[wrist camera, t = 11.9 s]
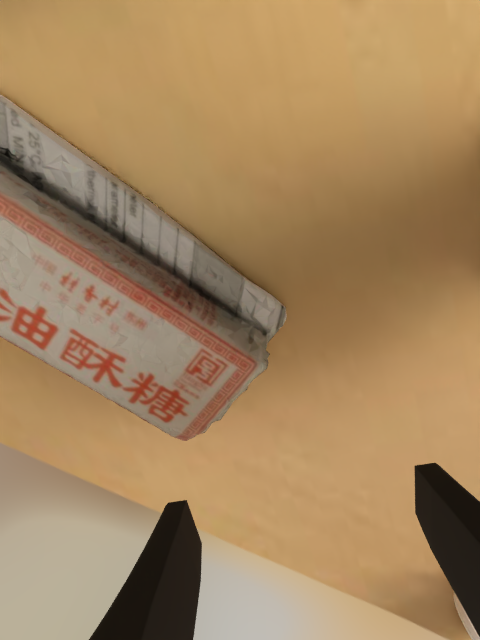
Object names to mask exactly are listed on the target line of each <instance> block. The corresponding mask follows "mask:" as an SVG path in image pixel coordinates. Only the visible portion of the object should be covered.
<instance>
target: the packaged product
mask: <svg viewBox="0 0 480 640" xmlns="http://www.w3.org/2000/svg"><path fill="white" fill-rule="evenodd" d="M285 320H286V307H285V306H284V305H283V304H281V303H280V302H279V301H278V300H277V299H276V298H274V297H273V296H272V295H271V294H269V293H268V292H266V291H265V290H263V289H262V288H260V287H258V286H257V285H255V284H254V283H252V282H251V281H249V280H248V279H246V278H245V277H244V276H242V275H241V274H240V273H239V272H238V271H236V270H235V269H234V268H233V267H231V266H230V265H229V264H228V263H226V262H225V261H224V260H223V259H222V258H220V257H219V256H218V255H217V254H215V253H214V252H213V251H212V250H211V249H209V248H208V247H207V246H206V245H204V244H203V243H202V242H201V241H199V240H198V239H197V238H196V237H195V236H193V235H192V234H191V233H189V232H188V231H187V230H186V229H184V228H183V227H182V226H181V225H179V224H178V223H177V222H175V221H174V220H173V219H172V218H170V217H169V216H168V215H167V214H165V213H164V212H163V211H161V210H160V209H159V208H158V207H156V206H155V205H154V204H153V203H151V202H150V201H148V200H147V199H146V198H144V197H143V196H142V195H140V194H139V193H137V192H136V191H135V190H133V189H132V188H131V187H129V186H128V185H126V184H125V183H124V182H122V181H121V180H119V179H118V178H117V177H115V176H114V175H113V174H111V173H110V172H108V171H107V170H106V169H104V168H103V167H101V166H100V165H99V164H97V163H96V162H94V161H93V160H92V159H90V158H89V157H88V156H86V155H85V154H83V153H82V152H81V151H79V150H78V149H76V148H75V147H74V146H72V145H71V144H69V143H68V142H67V141H65V140H64V139H63V138H61V137H60V136H58V135H57V134H56V133H54V132H53V131H51V130H50V129H49V128H47V127H46V126H44V125H43V124H42V123H40V122H39V121H37V120H36V119H35V118H33V117H32V116H31V115H29V114H28V113H26V112H25V111H24V110H22V109H21V108H19V107H18V106H17V105H15V104H14V103H12V102H11V101H10V100H8V99H7V98H5V97H4V96H2V95H0V337H2V338H3V339H5V340H7V341H9V342H10V343H12V344H14V345H16V346H17V347H19V348H21V349H22V350H24V351H26V352H28V353H29V354H31V355H33V356H35V357H37V358H38V359H40V360H42V361H44V362H45V363H47V364H49V365H50V366H52V367H54V368H56V369H57V370H59V371H61V372H62V373H64V374H66V375H68V376H69V377H71V378H73V379H75V380H77V381H78V382H80V383H82V384H83V385H85V386H87V387H89V388H90V389H92V390H94V391H96V392H98V393H100V394H101V395H103V396H104V397H106V398H107V399H109V400H111V401H113V402H115V403H116V404H118V405H119V406H121V407H123V408H125V409H127V410H129V411H130V412H132V413H134V414H136V415H137V416H139V417H140V418H141V419H143V420H145V421H147V422H148V423H150V424H152V425H154V426H156V427H157V428H159V429H161V430H162V431H164V432H165V433H168V434H169V435H170V436H172V437H175V438H178V439H181V440H184V441H187V440H189V439H191V438H193V437H195V436H196V435H198V434H201V433H205V432H206V430H207V429H208V428H209V426H210V425H211V424H212V423H213V422H215V421H218V420H221V418H222V417H223V416H224V414H225V413H226V411H227V410H228V408H230V406H231V404H232V403H233V401H234V400H235V399H236V398H237V397H238V396H239V395H240V394H241V393H243V392H244V391H246V390H247V388H248V385H249V384H250V383H251V382H252V381H253V379H255V378H256V377H257V376H258V375H259V374H261V373H262V372H263V371H264V370H265V369H267V366H268V359H267V358H268V357H269V355H270V354H269V353H268V352H267V351H266V347H267V343H268V342H269V341H270V340H271V338H272V337H273V336H274V335H275V334H276V333H277V332H278V330H279V329H280V328H281V327H282V326H283V324H284V322H285Z"/></svg>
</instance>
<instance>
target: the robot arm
mask: <svg viewBox="0 0 480 640" xmlns="http://www.w3.org/2000/svg"><path fill="white" fill-rule="evenodd" d="M415 512H416V515H417V518H418V520H419V522H420V525H421V527H422V530H423V532H424V534H425V537H426V539H427V541H428V543H429V546H430V548H431V550H432V552H433V554H434V556H435V558H436V559H437V561H438V563H439V565H440V567H441V569H442V570H443V572H444V574H445V576H446V578H447V579H448V581H449V583H450V585H451V587H452V589H453V590H454V592H455V594H456V596H457V598H458V599H459V601H460V603H461V605H462V607H463V608H464V610H465V612H466V614H467V616H468V617H469V619H470V621H471V623H472V625H473V626H474V628H475V630H476V632H477V634H478V635H479V637H480V502H479V501H478V500H477V499H476V498H475V497H474V496H473V495H471V494H470V493H469V492H468V491H467V490H466V489H465V488H463V487H462V486H461V485H460V484H459V483H458V482H457V481H456V480H454V479H453V478H452V477H451V476H450V475H449V474H448V473H447V472H446V471H445V470H443V469H442V468H441V467H440V466H439V465H438V464H436V463H430V464H424V465H417V466H415ZM201 549H202V543H201V540H200V537H199V534H198V532H197V528H196V526H195V523H194V520H193V517H192V514H191V512H190V509H189V506H188V503H187V500H184V501H177V502H171V503H168V504H167V505H166V506H165V508H164V511H163V513H162V515H161V517H160V519H159V521H158V523H157V525H156V527H155V529H154V531H153V533H152V534H151V536H150V538H149V540H148V542H147V544H146V546H145V548H144V550H143V552H142V553H141V555H140V557H139V559H138V561H137V562H136V564H135V566H134V568H133V570H132V572H131V573H130V575H129V577H128V579H127V580H126V582H125V584H124V585H123V587H122V589H121V590H120V592H119V594H118V596H117V597H116V599H115V600H114V602H113V603H112V605H111V607H110V608H109V610H108V612H107V613H106V615H105V616H104V618H103V619H102V621H101V622H100V624H99V626H98V627H97V629H96V630H95V632H94V633H93V635H92V636H91V637H90V639H89V640H193V636H194V629H195V620H196V613H197V606H198V597H199V589H200V581H201V551H202V550H201Z"/></svg>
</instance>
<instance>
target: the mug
mask: <svg viewBox="0 0 480 640" xmlns="http://www.w3.org/2000/svg"><path fill="white" fill-rule="evenodd" d="M453 599H454V603H455V606H456V609H457V612H458V614H459V617H460V619H461V621H462V623H463V625H464V627H465V628H466V630H467V632H468V634H469V636H470V637H471V639H472V640H480V637H479V635H478V634H477V632H476V630H475V628H474V626H473V625H472V623H471V621H470V619H469V617H468V616H467V614H466V612H465V610H464V608H463V607H462V605H461V603H460V601H459V599H458V598H457V596H456V594H455V592H454V594H453Z"/></svg>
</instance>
